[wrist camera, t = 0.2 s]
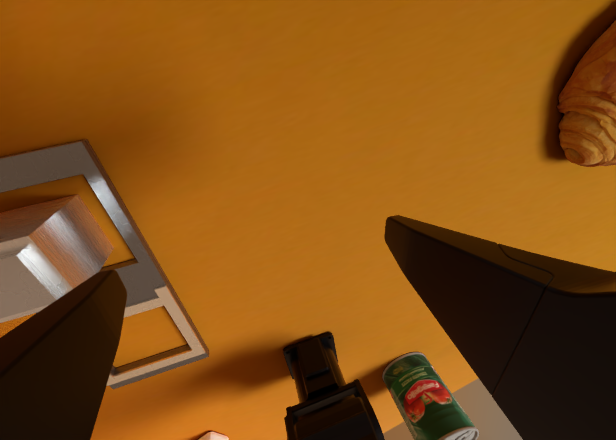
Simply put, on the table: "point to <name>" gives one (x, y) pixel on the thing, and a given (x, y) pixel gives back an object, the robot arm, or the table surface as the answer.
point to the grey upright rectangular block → (47, 254)
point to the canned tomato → (426, 400)
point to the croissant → (591, 106)
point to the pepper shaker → (214, 436)
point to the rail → (134, 273)
